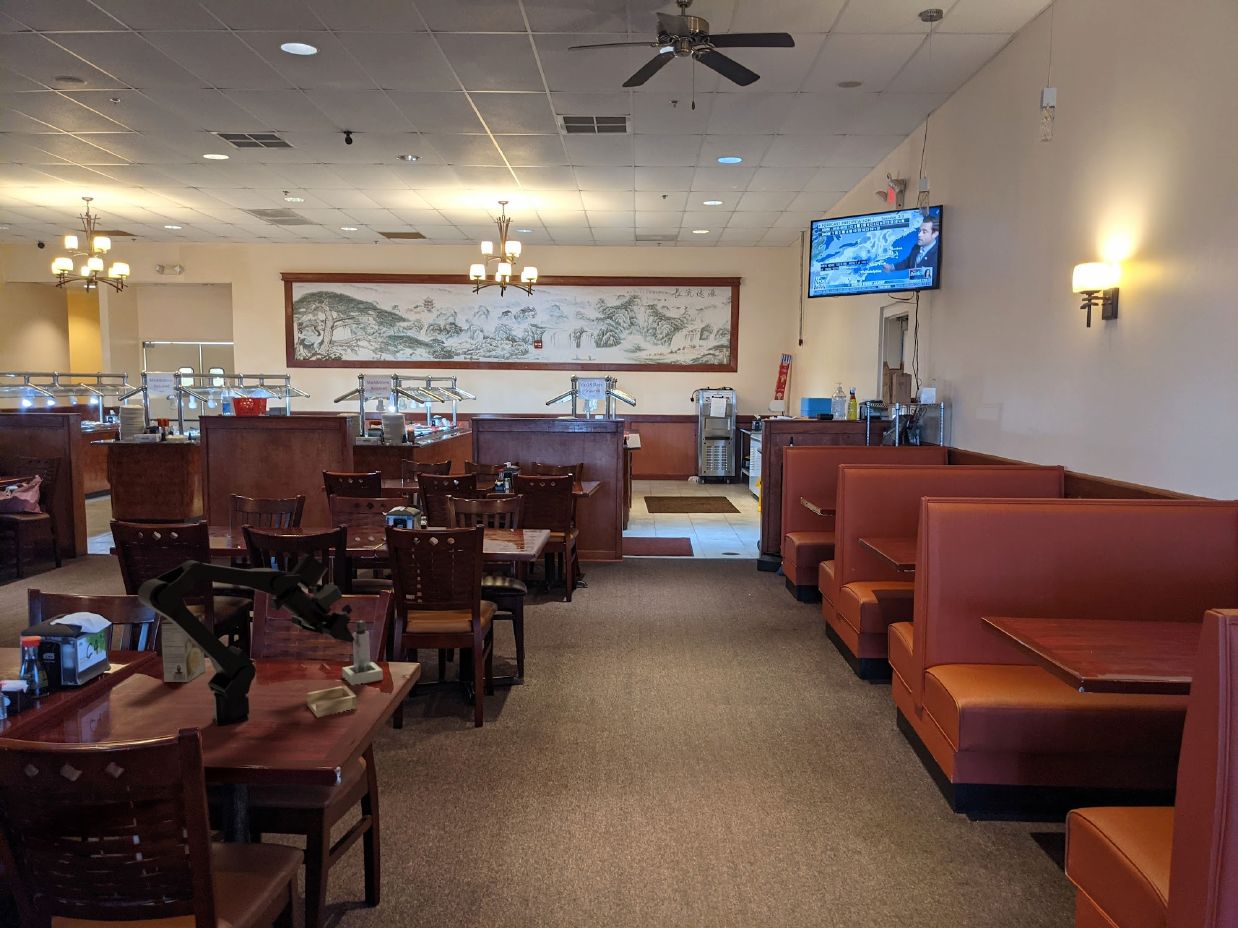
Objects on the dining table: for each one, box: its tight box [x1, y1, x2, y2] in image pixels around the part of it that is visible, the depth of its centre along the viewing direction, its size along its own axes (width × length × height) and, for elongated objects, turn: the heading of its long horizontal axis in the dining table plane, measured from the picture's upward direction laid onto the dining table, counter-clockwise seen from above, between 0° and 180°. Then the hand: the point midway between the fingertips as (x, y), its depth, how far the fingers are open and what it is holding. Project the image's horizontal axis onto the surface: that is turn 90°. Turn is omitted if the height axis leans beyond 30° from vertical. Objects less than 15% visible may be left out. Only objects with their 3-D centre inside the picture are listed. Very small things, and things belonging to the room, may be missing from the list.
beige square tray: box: [306, 685, 358, 718], centre depth 199 cm, size 9×9×3 cm
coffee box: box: [160, 612, 206, 683], centre depth 221 cm, size 9×6×16 cm
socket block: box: [341, 661, 384, 686], centre depth 219 cm, size 8×8×2 cm
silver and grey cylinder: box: [352, 619, 371, 674], centre depth 219 cm, size 4×4×15 cm
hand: (342, 637), depth 214 cm, fingers open, 9 cm apart
